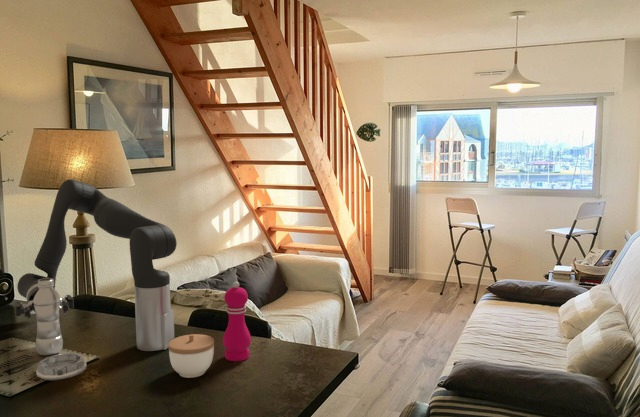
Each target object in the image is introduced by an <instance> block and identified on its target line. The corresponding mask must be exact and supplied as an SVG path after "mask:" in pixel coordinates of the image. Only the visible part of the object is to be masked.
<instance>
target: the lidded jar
mask: <svg viewBox="0 0 640 417" xmlns="http://www.w3.org/2000/svg"><path fill="white" fill-rule="evenodd" d="M167 349H168V355H169V362H170V365H171V367H172V369H173V370H174V371H175V373H177V374H179V376H180V377H182V378H187V379H189V378H190V379H192V378H193V379H194V378H198V377H200V376H203V375H204V374H205V373H206V372H207V370H208V369H209V368H210V366H211V364H212V362H213V360H214V353H215V339H214V338H213V337H212V336H210V335H207V334H199V333H198V334H197V333H196V334H195V333H194V334H191V333H190V334H186V335H185V334H184V335H180V336H178V337H174V339H173V340H171V341H170V342H169V344H168V348H167Z"/></svg>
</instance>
